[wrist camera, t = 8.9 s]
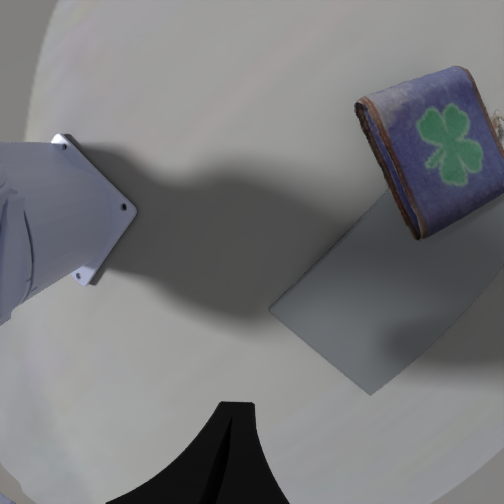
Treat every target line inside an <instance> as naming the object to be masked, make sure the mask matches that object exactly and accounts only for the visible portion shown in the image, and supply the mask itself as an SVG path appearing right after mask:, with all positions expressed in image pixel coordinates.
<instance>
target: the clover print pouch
mask: <svg viewBox="0 0 504 504" xmlns="http://www.w3.org/2000/svg"><path fill="white" fill-rule="evenodd" d="M357 102H358V101H357ZM357 102H356V103H355V104H354V107H355V110H354V111H355V113H356V116H358V117H357V118H359V121H360V125H361V129H362V131H363V133H364V134H365V135H366V137H367V139H368V143H369V144H370V147H371V149H372V151H373V153H374V155H375V157H376V160H377V162H378V164H379V166H380V167H381V168H382V170H383V175H384V178H385V179H386V182H387V186H388V188H389V190H390V192H391V194H392V196H393V197H394V198H393V199H394V201H395V203H396V205H397V207H398V210H399V212H400V214H401V217H402V219H403V221H404V223H405V225H406V228H407V229H408V230H409V231H410V234H411V236H412V237H413V238H414V239H415V240H419V241H420V242H421V240H420V239H425V238H428V237H430V236H431V235H434V234H435V233H437V232H439V231H440V230H442V229H444V228H446V227H448V226H449V225H451V224H453V223H454V222H456V221H458V220H460V219H463V218H464V217H465V216H467V215H469V214H470V213H472V212H473V211H474V210H476V209H478V208H481V207H482V206H484V205H485V204H487V203H488V202H490V201H492V200H494V199H496V198H497V197H499V196H500V195H501V194H503V193H504V150H503V148H502V145H501V142H500V140H499V139H498V137H499V132H498V128H500V129H501V127H500V126H501V123H500V121H499V118H501V119H502V120H503V121H504V116H502V115H501V113H500V111H499V110H497V109H496V110H495V114H493V113H491V114H490V115H489V116H488V113H487V111H486V108H485V106H484V103H483V101H482V99H481V96H480V93H479V91H478V89H477V87H476V84H475V81H474V79H473V77H472V75H471V74H470V72H469V71H468V70H467V69H464V68H462V67H460V66H452V67H450V68H447V69H445V70H442V71H439V72H436V73H433V74H428V75H425V76H423V77H421V78H417V79H413V80H411V81H406V82H403V83H400V84H398V85H396V86H393V87H390V88H388V89H385V90H382V91H379V92H376V93H374V94H371V95H368V96H365V97H362V98H361V99H359V102H358V103H357Z"/></svg>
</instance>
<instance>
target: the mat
mask: <svg viewBox="0 0 504 504" xmlns="http://www.w3.org/2000/svg"><path fill="white" fill-rule="evenodd" d="M393 198H394V197H393V196H392V194H391V192H390V190H389V189H388V190H387V191H386V193H385V194H384V195H383V196H382V197H381V198H380V199H379V200H378V201H377V202H376V203H375V204H374V205H373V206H372V207H371V208H370V209H369V210H368V211H367V212H366V213H365V214H364V216H363V217H362V218H361V219H360V220H359V221H358V222H357V223H356V224H355V225H354V226H353V227H352V228H351V229H350V230H349V231H348V232H347V233H346V234H345V235H344V236H343V237H342V238H341V239H340V240H339V241H338V242H337V243H336V244H335V245H334V246H333V247H332V248H331V249H330V250H329V251H328V252H327V253H326V254H325V255H324V256H323V257H322V258H321V259H320V260H319V261H318V262H317V263H315V264H314V265H313V266H312V267H311V268H310V269H309V270H308V271H307V272H306V273H305V274H304V275H303V276H302V277H301V278H300V279H299V280H298V281H297V282H296V283H295V284H294V285H293V286H291V287H290V288H289V289H288V290H287V291H286V292H285V293H284V294H283V295H282V296H281V297H280V298H279V299H278V300H277V301H275V302H274V303H273V304H272V305H271V306H270V307H269V312H270V313H271V314H273V315H274V316H275V317H276V318H277V319H278V320H280V321H281V322H282V323H283V324H284V325H285V326H287V327H288V328H289V329H290V330H291V331H292V332H294V333H295V334H296V335H297V336H298V337H300V338H301V339H302V340H303V341H304V342H305V343H307V344H308V345H309V346H310V347H311V348H313V349H314V350H315V351H316V352H317V353H319V354H320V355H321V356H322V357H323V358H325V359H326V360H327V361H328V362H329V363H331V364H332V365H333V366H334V367H335V368H337V369H338V370H339V371H340V372H342V373H343V374H344V375H345V376H346V377H348V378H349V379H350V380H351V381H353V382H354V383H355V384H356V385H358V386H359V387H360V388H361V389H362V390H364V391H365V392H366V393H367V394H369V395H370V396H371V395H372V394H373V393H375V392H376V391H377V390H379V389H380V388H381V387H383V386H384V385H385V384H386V383H388V382H389V381H390V380H391V379H393V378H394V377H395V376H396V375H397V374H399V373H400V372H401V371H402V370H403V369H405V368H406V367H407V366H408V365H409V364H411V363H412V362H413V361H414V360H415V359H416V358H417V357H418V356H420V355H421V354H422V353H423V352H424V351H425V350H426V349H427V348H428V347H429V346H430V345H432V344H433V343H434V342H435V341H436V340H437V339H438V338H439V337H440V336H441V335H442V334H443V333H444V332H445V331H446V330H447V329H448V328H449V327H450V326H451V325H452V324H453V323H454V322H455V321H456V320H457V319H458V318H459V317H460V316H461V315H462V314H463V312H464V311H465V310H466V309H467V308H468V307H469V306H470V305H471V304H472V303H473V301H474V300H475V299H476V298H477V297H478V296H479V295H480V293H481V292H482V291H483V290H484V289H485V288H486V286H487V285H488V284H489V283H490V282H491V280H492V279H493V278H494V277H495V275H496V274H497V273H498V272H499V270H500V269H501V268H502V266H503V265H504V193H503V194H501V195H500V196H499V197H497V198H496V199H494V200H492V201H490V202H488V203H487V204H485V205H484V206H482V207H481V208H478V209H476V210H474V211H473V212H472V213H470V214H469V215H467V216H465V217H464V218H463V219H460V220H458V221H456V222H454V223H453V224H451V225H449V226H448V227H446V228H444V229H442V230H440V231H439V232H437V233H435V234H434V235H431V236H430V237H428V238H425V239H420V240H421V242H420V241H419V240H415V239H414V238H413V237H412V236H411V234H410V231H409V230H408V229H407V228H406V225H405V223H404V221H403V219H402V217H401V214H400V212H399V210H398V207H397V205H396V203H395V201H394V199H393Z"/></svg>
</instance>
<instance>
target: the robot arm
mask: <svg viewBox="0 0 504 504" xmlns="http://www.w3.org/2000/svg"><path fill="white" fill-rule="evenodd" d="M65 145H67V148H66V150H65ZM123 204H126V206H127V209H126V210H124V209H123ZM136 214H137V210H136V207H135V206H134V205H133V204H132V203H131V202H130V201H129V200H128V199H127V198H126V197H125V196H124V195H123V194H122V193H121V192H120V191H119V190H118V189H117V188H116V187H115V186H114V185H113V184H111V183H110V182H109V181H108V180H107V179H106V178H105V177H104V176H103V175H102V174H101V173H100V172H99V171H98V170H97V169H96V168H95V167H94V166H93V165H92V164H91V163H90V161H89V160H88V159H87V158H86V157H85V156H84V155H83V154H82V153H81V152H80V151H79V150H78V149H77V148H76V147H75V146H74V145H73V144H72V143H71V142H70V141H69V140H68V139H67V138H66V137H65V136H64V135H63V134H60V133H58V134H56V135H55V136H54V138H53V140H52V142H51V143H41V142H0V326H1V325H2V324H4V323H5V322H6V321H8V320H9V319H10V318H11V312H12V310H13V309H14V308H15V307H17V306H18V305H20V304H22V303H23V302H25V301H26V300H28V299H30V298H31V297H33V296H34V295H36V294H37V293H39V292H41V291H42V290H44V289H45V288H47V287H49V286H50V285H52V284H53V283H55V282H57V281H58V280H60V279H62V278H63V277H65V276H67V275H68V274H71V275H72V276H73V277H74V278H75V279H76V280H77V281H78V282H79V283H80V284H81V285H82V286H87V285H88V284H89V283H90V281H91V280H92V278H93V277H94V275H95V274H96V272H97V271H98V269H99V268H100V266H101V264H102V263H103V261H104V260H105V259H106V257H107V256H108V254H109V253H110V251H111V250H112V248H113V247H114V245H115V244H116V242H117V241H118V240H119V238H120V237H121V235H122V234H123V233H124V231H125V230H126V228H127V227H128V226H129V224H130V223H131V222H132V220H133V219H134V218H135V216H136ZM78 273H79V274H80V275H81V277H80V276H79V274H78ZM0 504H16V503H15V502H13V501H12V500H10V499H9V498H7V497H6V496H5V495H3V494H2V493H0ZM106 504H290V503H289V502H288V500H287V499H286V497H285V495H284V494H283V492H282V491H281V489H280V487H279V486H278V484H277V482H276V480H275V478H274V476H273V474H272V472H271V470H270V468H269V466H268V463H267V461H266V458H265V456H264V453H263V450H262V447H261V444H260V441H259V437H258V434H257V430H256V417H255V404H253V403H252V402H224V401H221V402H220V403H219V404H218V406H217V408H216V409H215V411H214V413H213V414H212V416H211V417H210V419H209V420H208V422H207V423H206V424H205V426H204V427H203V428H202V430H201V431H200V432H199V434H198V435H197V436H196V438H195V439H194V440H193V441H192V442H191V443H190V444H189V446H188V447H187V448H186V449H185V450H184V451H183V452H182V453H181V454H180V455H179V456H178V457H177V458H176V459H175V460H174V461H173V462H172V463H171V464H169V465H168V466H167V467H166V468H165V469H163V470H162V471H161V472H160V473H158V474H157V475H156V476H154V477H153V478H152V479H150V480H149V481H147V482H145V483H144V484H142V485H141V486H139V487H137V488H136V489H134V490H132V491H130V492H128V493H126V494H124V495H122V496H120V497H118V498H116V499H113V500H111V501H109V502H106Z"/></svg>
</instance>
